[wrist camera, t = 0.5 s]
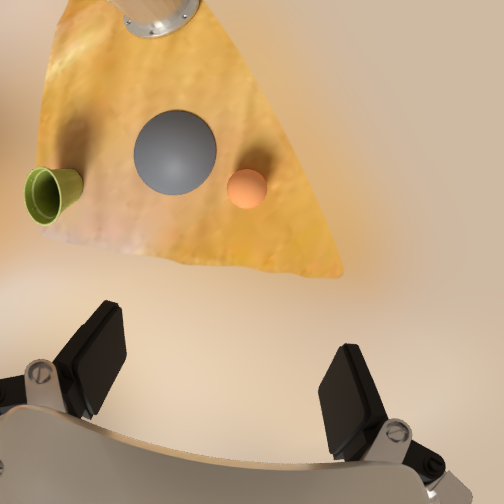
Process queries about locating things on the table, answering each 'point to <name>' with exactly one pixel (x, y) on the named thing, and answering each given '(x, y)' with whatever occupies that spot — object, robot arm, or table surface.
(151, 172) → the disc
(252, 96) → the table surface
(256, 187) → the ball
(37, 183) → the plant pot
